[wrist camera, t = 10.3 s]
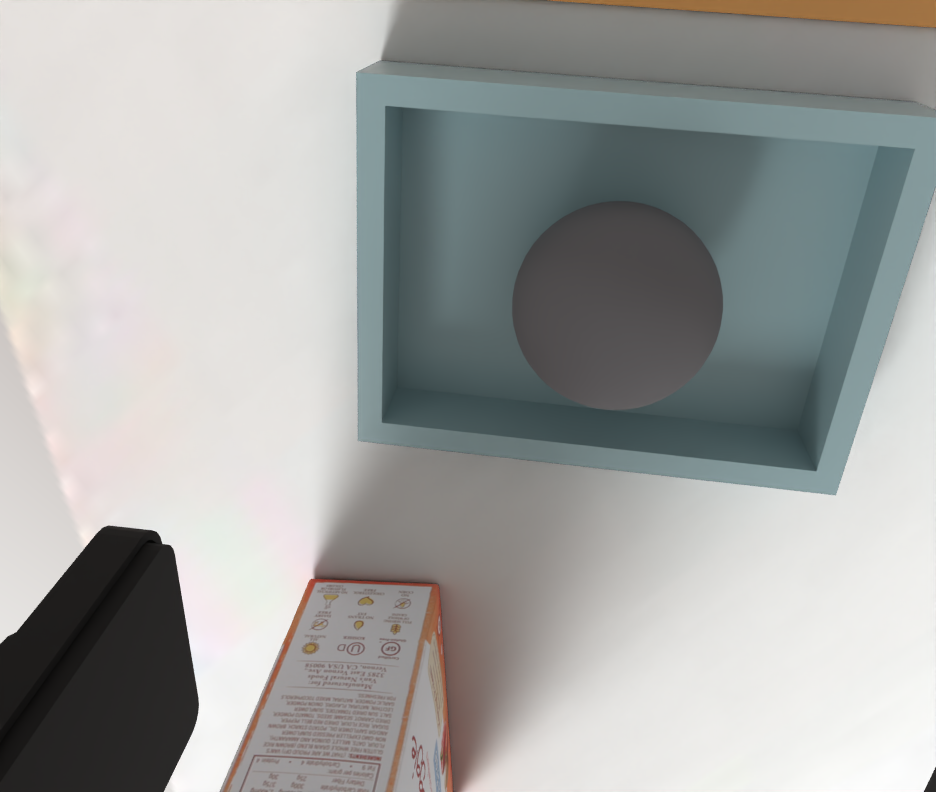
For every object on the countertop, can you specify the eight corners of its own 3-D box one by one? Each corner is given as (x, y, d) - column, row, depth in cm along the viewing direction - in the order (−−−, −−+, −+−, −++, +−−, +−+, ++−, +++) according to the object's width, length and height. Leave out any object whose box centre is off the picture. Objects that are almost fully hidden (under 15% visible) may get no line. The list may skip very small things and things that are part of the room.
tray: (339, -74, 23) (308, -78, 21) (1002, -31, 22) (1060, -30, 19) (345, 395, 30) (323, 436, 28) (847, 450, 29) (874, 499, 26)
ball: (529, 169, 26) (512, 226, 20) (727, 187, 25) (762, 250, 20) (512, 346, 28) (494, 435, 23) (690, 365, 28) (712, 461, 23)
